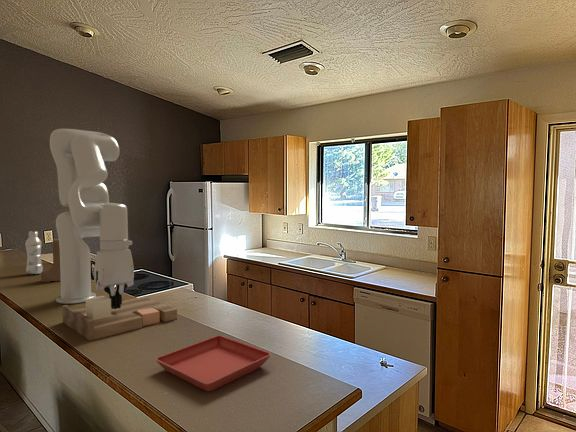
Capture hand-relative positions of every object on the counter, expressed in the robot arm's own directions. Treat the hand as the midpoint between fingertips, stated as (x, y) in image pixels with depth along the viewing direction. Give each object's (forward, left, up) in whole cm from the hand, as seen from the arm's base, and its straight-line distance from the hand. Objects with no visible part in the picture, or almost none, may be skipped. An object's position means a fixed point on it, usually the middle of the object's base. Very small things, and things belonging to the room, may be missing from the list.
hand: (115, 307), depth 117 cm
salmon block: (+7, +7, -5) cm, 11 cm away
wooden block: (-75, +5, -5) cm, 76 cm away
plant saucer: (+47, +2, -5) cm, 47 cm away
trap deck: (0, +2, -4) cm, 5 cm away
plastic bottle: (-97, +3, -5) cm, 97 cm away
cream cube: (+1, -5, -1) cm, 5 cm away
